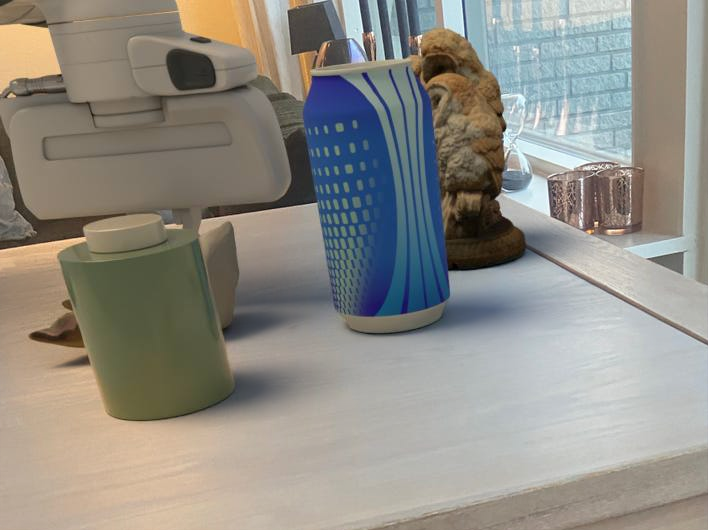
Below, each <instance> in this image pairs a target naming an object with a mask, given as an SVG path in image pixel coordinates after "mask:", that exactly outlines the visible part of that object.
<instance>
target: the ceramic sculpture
mask: <svg viewBox="0 0 708 530" xmlns="http://www.w3.org/2000/svg"><path fill="white" fill-rule="evenodd" d="M124 216H126V214H125V215H124ZM234 229H235V228H234V226H233V224H232V222H231V221H229V220H228V221H225V222H223V223H222V224H221V225H220V226H217V227H214V228H212V229H210V230H208V231H206V232H204V233H203V234H201V235H200V239H201V243H202V247H203V251H204V256H205V260H206V264H207V268H208V273H209V277H210V281H211V285H212V289H213V294H214V298H215V302H216V306H217V311H218V315H219V319H220V323H221V328H222V330H224V329H226V328H228V327H229V326H230V324H231V323H232V321H233V319H234V314H235V303H236V302H235V301H236V289H237V286H238V282H239V279H240V268H239V262H238V254H237V253H238V252H237V243H236V238H235V230H234ZM61 306H62V307H63V308H64V309H66V310H68V311H70V312H68V311H67V312H65V313H64V314H62V315H61V316H59V317H58V318H57V319H56V320H55V321H54V322H53V323H52V324H51V325H50V326H49V327H46V328H42V329H40V330H35V331H33V332H30V333H29V334H27V336H28V338H29V339H30V340H31V341H35V342H38V343H44V344H51V345H56V346H60V347H61V346H62V347H65V348H66V347H67V348H76V349H78V348H79V349H86V348H85V345H84V342H83V339H82V336H81V333H80V329H79V326H78V323H77V320H76V317H75V314H74V311H73V307H72V304H71V301H70V298H68V299H65V300H62V301H61Z"/></svg>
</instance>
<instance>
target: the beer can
mask: <svg viewBox="0 0 708 530" xmlns="http://www.w3.org/2000/svg"><path fill="white" fill-rule="evenodd" d="M412 65H413V61H412V60H411V59H406V58H396V59H395V58H394V59H393V58H392V59H381V60H369V61H359V62H351V63H344V64H335V65H334V64H333V65H327V66H322V67H316V68H312V69H310V70H309V74H310V76H311V77H312V81H311V84H310V87H309V90H308V93H307V96H306V99H305V101H304V105H303V108H302V120H303V121H302V122H303V126H304V132H305V138H306V144H307V150H308V157H309V164H310V169H311V174H312V180H313V186H314V192H315V198H316V202H317V203H316V204H317V210H318V217H319V223H320V228H321V234H322V240H323V247H324V252H325V258H326V265H327V271H328V277H329V282H330V288H331V294H332V295H331V296H332V300H333V306H334V310H335V312H337V314H339V315H340V316H341V317H342V318H343V319H344V321H345V322H346V324H347V326H348V328H350V329H351V330H353V331H355V332H360V333H367V334H368V333H369V334H391V333H400V332H406V331H412V330H417V329H420V328H423V327H426V326H428V325H431V324H433V323H435V322H437V321H439V320H440V319H441V317H442V315H443V311H444V308H445V306H446V304H447V303H448V302H449V300H450V298H451V287H450V277H449V269H448V266H447V256H446V246H445V236H444V226H443V216H442V206H441V195H440V185H439V175H438V165H437V155H436V145H435V135H434V125H433V115H432V105H431V99H430V97H429V95H428V93H427V92H426V90H425V88H424V87H423V85H422V84H421V82H420V81H419V79H418V78H417V76H416V74H415V73H414V71H413V70H412Z"/></svg>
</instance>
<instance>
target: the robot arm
mask: <svg viewBox="0 0 708 530" xmlns="http://www.w3.org/2000/svg"><path fill="white" fill-rule="evenodd" d="M11 25H23V26H30V27H36V28H42V29H48V32H49V36H50V39H51V42H52V46H53V49H54V53H55V56H56V60H57V63H58V67H59V70H60V73H57V74H47V75H43V76H40V77H39V76H38V77H33V78H29V77H19V78H15V79H14V78H13V79H12V80H10V81H9V83H8V84H9V86H7V87H5V88H4V89H3V90H2V92H1V93H0V119H1V122H2V125H3V127H4V131H5V133H6V135H7V137H8V139H9V140H10V148H11V154H12V160H13V165H14V168H15V175H16V179H17V183H18V187H19V190H20V194H21V198H22V201H23V204H24V206H25V208H26V209H27V210H28V211H30V213H32V214H33V215H34V216H35V217H36V218H37V219H38V220H40V221H43V220H44V221H45V220H56V219H70V218H83V217H96V216H107V215H108V216H110V215H122V214H125V215H135V214H156V213H155V212H159V211H161V212H162V211H171V213H172V217H173V221H174V224H175V225H176V226H182V228H181V229H187V230H193V231H196V232H198V233H199V230H200V227H201V224H202V220H203V217H202V212H201V208H209V207H211V208H212V207H223V206H236V205H248V204H249V205H250V204H263V203H272V202H275V201H277V200H279V199H281V198H282V197H284V195H285V194H286V193H287V191H288V189H289V188H290V186H291V183H292V173H291V167H290V161H289V157H288V152H287V149H286V145H285V140H284V137H283V134H282V129H281V126H280V124H279V120H278V117H277V114H276V112H275V109H274V106H273V105H272V103H271V101H270V99H269V98H268V96H267V95H266V94H265V93H264V92H263V91H262V90H261V89H259V87H258V88H257V87H256V86H254V85H251V83H253V82H254V81H256V79H257V78H258V72H259V70H258V64H257V59H256V56H255V54H254V53H253V51H251V50H250V49H249V48H247V47H244V46H240V45H236V44H233V43H228V42H224V41H220V40H216V39H212V38H208V37H205V36H202V35H197V34H194V33H190V32H187V31H185V29H183V25H182V19H181V16H180V12H179V7H178V3H177V1H176V0H0V26H11ZM11 94H12V95H13V96H12V97H9V96H10V95H11Z"/></svg>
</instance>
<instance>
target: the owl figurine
mask: <svg viewBox="0 0 708 530" xmlns="http://www.w3.org/2000/svg"><path fill="white" fill-rule="evenodd" d="M419 49H420V55H419V54H417V55H414V54H410V55H408V57H406V58H405V59H411V60H412V61H413V65H412V70H413V71H414V73H415V74H416V76H417V78H418V79H419V81H420V82H421V84H422V85H423V87H424V88H425V90H426V92H427V93H428V95H429V97H430V99H431V105H432V115H433V125H434V135H435V145H436V155H437V165H438V175H439V185H440V195H441V206H442V216H443V226H444V236H445V246H446V256H447V266H448V270H452V269H454V265H456V267H457V268H458V269H459V270H468V269H469V270H470V269H478V268H481V267H484V266H486V267H487V266H488V267H491V266H495V265H497V264H504V263H507V262H509V261H511V260H514V259H515V260H516V259H518V258H520V257H522V256H523V255H524V254H525V252H526V249H527V242H526V236H525V233H524V232H523V230H522V229H520V228H519V227H518V226H516V225H514V222H513V221H512V220H510V219H509V218H507V217H505V216H504V215H503V213H502V212H501V204H500V201H498V200H497V197H499V196H500V195H501V194H502V189H503V172H504V171H505V166H506V157H505V152H504V149H505V148H504V144H503V134H504V133H505V132H506V131H507V128H508V125H507V122H506V120H505V118H504V116H503V114H504V111H505V106H504V103H503V102H502V91H501V87H500V83H499V81H498V79H497V77H496V76H495V75H494V74H495V73H493V72H491V71H489V70H487V69H486V68H485V66H484V64H483V62H482V61H481V60H480V58H479V55H478V53H477V51H476V50H475V48H474V47H473V46H472V43H471V42H470V41H468V39H466V38H465V36H463V35H461V34H460V33H458V32H456V31H454V30H452V29H450V28H445V27H444V28H443V27H442V28H432V29H430V30H428V31H426V32H425V33H423V35H422V37H421V38H420V42H419Z"/></svg>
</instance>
